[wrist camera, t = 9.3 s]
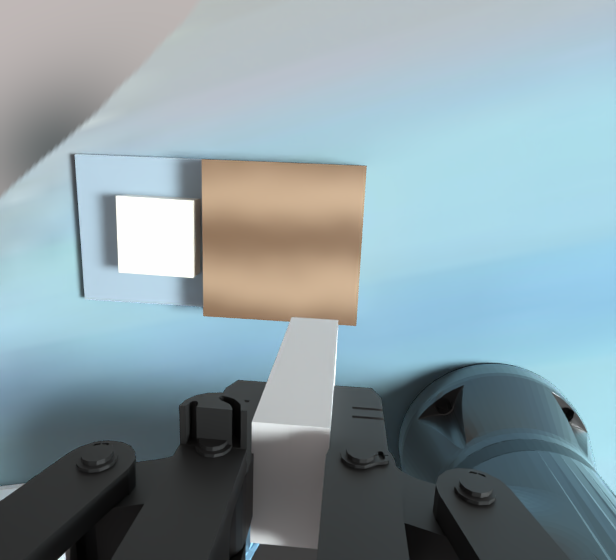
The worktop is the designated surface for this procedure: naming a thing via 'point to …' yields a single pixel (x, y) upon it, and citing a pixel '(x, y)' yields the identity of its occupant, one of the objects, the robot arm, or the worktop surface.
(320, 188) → the board
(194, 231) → the tile
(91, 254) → the mat
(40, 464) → the worktop surface
